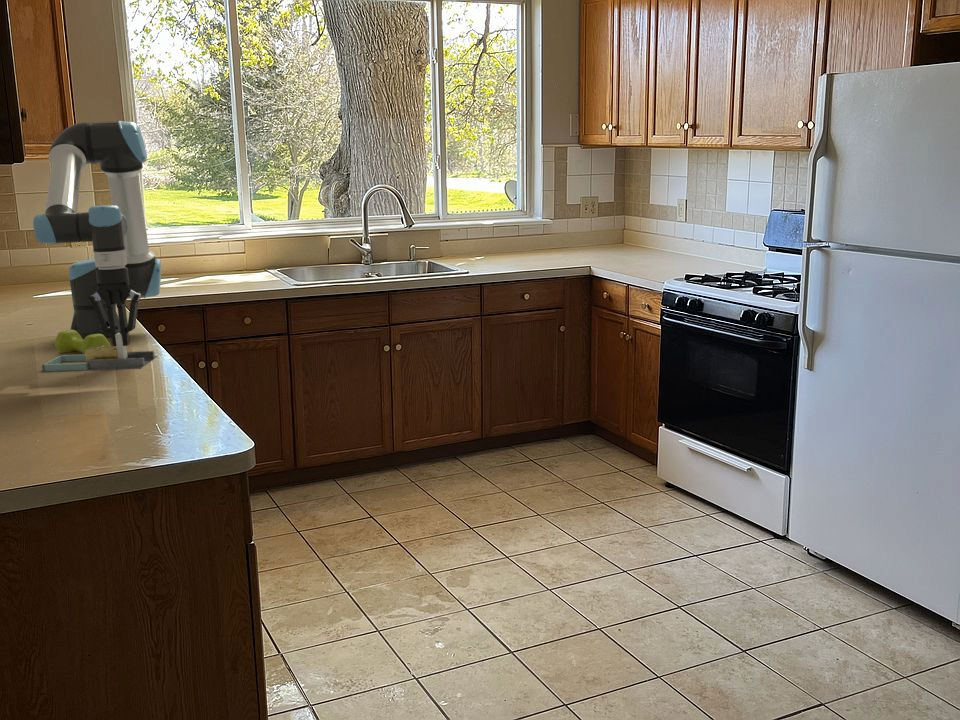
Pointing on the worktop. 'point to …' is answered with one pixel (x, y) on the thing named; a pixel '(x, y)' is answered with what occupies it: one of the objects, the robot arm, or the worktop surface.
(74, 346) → the dumbbell
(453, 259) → the worktop surface
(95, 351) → the wooden block
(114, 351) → the wooden cube
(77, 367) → the tray
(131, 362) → the slot board
